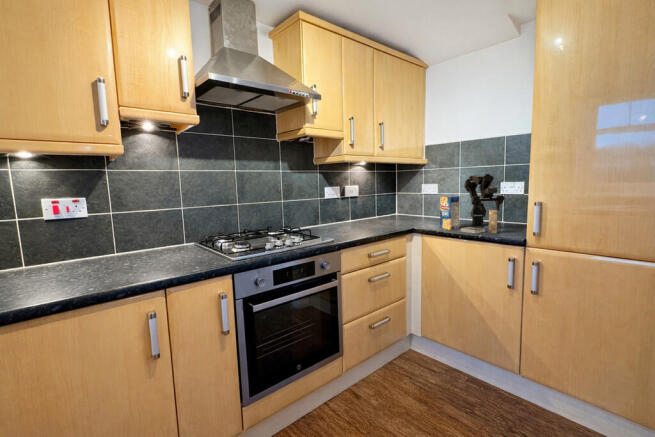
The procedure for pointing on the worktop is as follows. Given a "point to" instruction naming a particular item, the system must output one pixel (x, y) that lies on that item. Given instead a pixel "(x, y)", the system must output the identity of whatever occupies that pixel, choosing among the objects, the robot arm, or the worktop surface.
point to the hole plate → (472, 230)
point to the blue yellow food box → (449, 212)
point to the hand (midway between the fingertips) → (490, 210)
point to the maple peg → (492, 221)
